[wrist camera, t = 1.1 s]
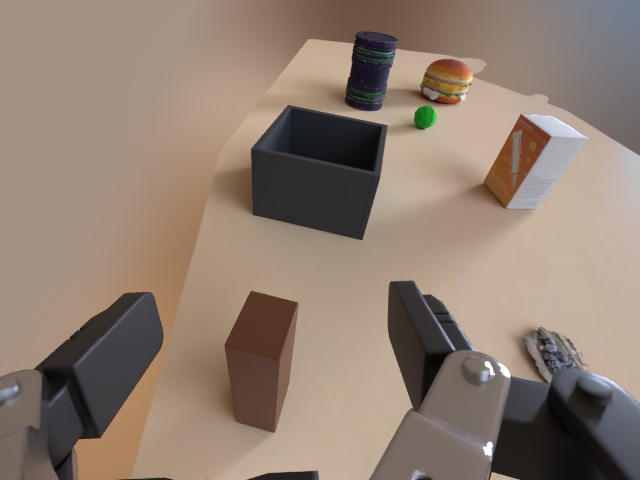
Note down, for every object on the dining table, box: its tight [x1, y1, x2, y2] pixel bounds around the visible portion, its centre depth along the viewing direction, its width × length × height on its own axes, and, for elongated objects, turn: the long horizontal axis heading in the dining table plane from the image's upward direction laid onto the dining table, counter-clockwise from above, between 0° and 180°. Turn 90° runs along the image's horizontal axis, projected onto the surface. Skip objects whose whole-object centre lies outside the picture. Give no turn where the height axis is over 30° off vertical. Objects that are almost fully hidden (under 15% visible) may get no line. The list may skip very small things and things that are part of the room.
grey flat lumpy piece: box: [523, 327, 589, 384], centre depth 32 cm, size 7×8×2 cm
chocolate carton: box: [225, 291, 299, 432], centre depth 23 cm, size 3×4×12 cm
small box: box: [484, 114, 588, 209], centre depth 53 cm, size 8×6×13 cm
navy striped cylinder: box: [345, 31, 398, 111], centre depth 78 cm, size 10×10×15 cm
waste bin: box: [251, 105, 388, 240], centre depth 47 cm, size 16×16×10 cm
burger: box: [420, 59, 472, 103], centre depth 91 cm, size 13×14×10 cm
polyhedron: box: [414, 105, 437, 129], centre depth 74 cm, size 5×5×5 cm
